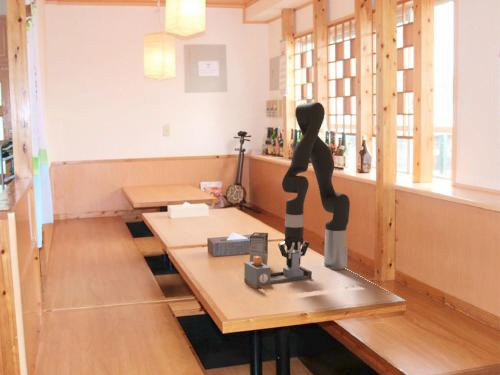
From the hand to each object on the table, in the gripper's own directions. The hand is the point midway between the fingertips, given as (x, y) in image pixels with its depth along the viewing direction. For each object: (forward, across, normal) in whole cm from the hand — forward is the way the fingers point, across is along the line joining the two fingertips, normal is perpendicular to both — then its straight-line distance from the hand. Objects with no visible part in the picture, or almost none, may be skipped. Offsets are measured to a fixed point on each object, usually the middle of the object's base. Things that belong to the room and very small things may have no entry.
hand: (293, 266), depth 262 cm
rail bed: (+6, +7, 0) cm, 9 cm away
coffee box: (+6, +6, -19) cm, 21 cm away
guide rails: (+4, +4, 0) cm, 6 cm away
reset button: (-2, +16, 0) cm, 16 cm away
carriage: (+4, 0, 0) cm, 4 cm away
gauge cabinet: (+4, +16, 0) cm, 17 cm away
